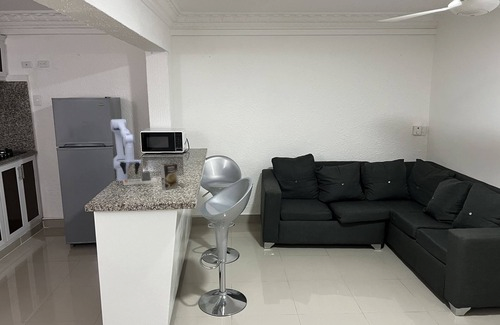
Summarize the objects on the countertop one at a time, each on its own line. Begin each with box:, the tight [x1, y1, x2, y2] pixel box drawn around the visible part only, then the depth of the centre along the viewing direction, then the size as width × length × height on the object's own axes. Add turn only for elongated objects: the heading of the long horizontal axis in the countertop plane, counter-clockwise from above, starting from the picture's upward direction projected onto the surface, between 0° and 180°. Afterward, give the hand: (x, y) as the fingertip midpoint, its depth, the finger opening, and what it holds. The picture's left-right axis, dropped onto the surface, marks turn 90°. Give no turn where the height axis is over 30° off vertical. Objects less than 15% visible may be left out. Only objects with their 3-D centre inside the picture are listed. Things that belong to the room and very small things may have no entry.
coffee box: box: [160, 162, 179, 191], centre depth 248 cm, size 9×6×16 cm
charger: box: [141, 170, 151, 181], centre depth 261 cm, size 5×5×7 cm
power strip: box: [122, 177, 158, 186], centre depth 260 cm, size 9×22×3 cm, turn 112°
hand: (130, 173), depth 246 cm, fingers open, 7 cm apart
